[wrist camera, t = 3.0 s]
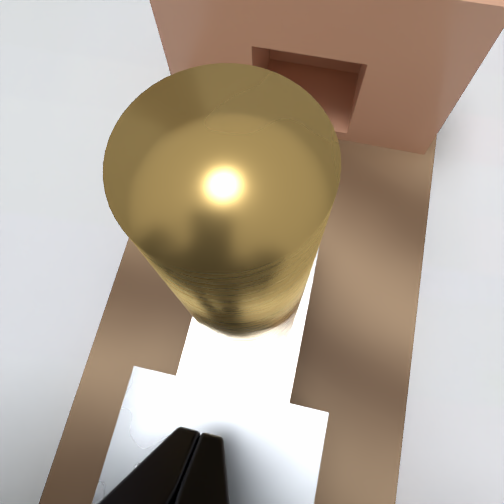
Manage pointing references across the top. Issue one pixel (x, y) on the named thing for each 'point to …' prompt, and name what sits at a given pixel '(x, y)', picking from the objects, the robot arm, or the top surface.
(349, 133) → the terracotta socket
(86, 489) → the walnut board
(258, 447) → the grey rectangular block
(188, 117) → the sliding bolt with handle
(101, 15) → the top surface
